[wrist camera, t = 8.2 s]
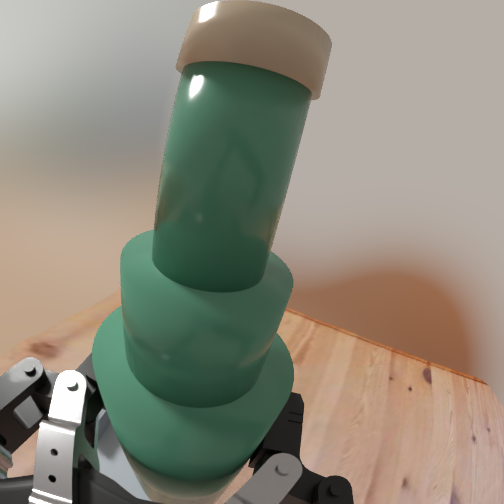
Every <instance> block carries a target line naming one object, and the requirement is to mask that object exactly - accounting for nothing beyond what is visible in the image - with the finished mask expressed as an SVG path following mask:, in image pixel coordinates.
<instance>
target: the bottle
mask: <svg viewBox="0 0 504 504" xmlns="http://www.w3.org/2000/svg"><path fill="white" fill-rule="evenodd" d="M331 47H332V42H331V39H330V37H329V36H328V34H327V33H326V32H325V31H324V30H323V29H322V28H321V27H320V26H319V25H317V24H316V23H315V22H313V21H312V20H310V19H308V18H306V17H305V16H303V15H301V14H298V13H296V12H294V11H292V10H289V9H286V8H283V7H280V6H276V5H273V4H268V3H263V2H257V1H247V0H229V1H220V2H214V3H211V4H207V5H205V6H202V7H200V8H199V9H198V10H196V11H195V12H194V13H193V15H192V17H191V20H190V23H189V25H188V28H187V31H186V34H185V37H184V41H183V44H182V47H181V50H180V53H179V57H178V60H177V64H176V69H177V70H178V71H179V72H180V73H182V75H181V78H180V82H179V86H178V90H177V94H176V98H175V103H174V106H173V111H172V115H171V120H170V125H169V130H168V135H167V140H166V146H165V151H164V157H163V163H162V169H161V175H160V183H159V189H158V197H157V206H156V213H155V223H154V230H150V231H147V232H144V233H141V234H139V235H137V236H136V237H134V238H133V239H131V240H130V241H129V242H128V243H127V244H126V245H125V247H124V248H123V250H122V253H121V263H120V265H121V266H120V268H121V269H120V272H121V304H122V306H120V307H119V308H117V309H116V310H115V311H113V312H112V313H111V314H110V315H109V316H108V317H107V318H106V319H105V320H104V322H103V323H102V324H101V326H100V328H99V329H98V331H97V334H96V336H95V338H94V343H93V347H92V363H93V370H94V373H95V377H96V380H97V383H98V387H99V390H100V393H101V396H102V399H103V402H104V405H105V408H106V411H107V413H108V416H109V419H110V421H111V424H112V426H113V429H114V431H115V434H116V436H117V439H118V441H119V443H120V445H121V448H122V450H123V452H124V454H125V456H126V458H127V461H128V463H129V465H130V467H131V469H132V471H133V473H134V474H135V476H136V478H137V480H138V482H139V484H140V486H141V487H142V489H143V491H144V492H145V494H146V495H147V497H148V498H149V499H150V500H151V501H153V502H158V503H163V504H214V503H215V502H216V501H217V500H218V499H219V497H220V496H221V495H222V494H223V493H224V491H225V490H226V489H227V488H228V486H229V485H230V484H231V482H232V481H233V480H234V479H235V477H236V476H237V475H238V473H239V472H240V471H241V469H242V468H243V467H244V465H245V464H246V463H247V461H248V460H249V458H250V457H251V456H252V454H253V453H254V451H255V450H256V448H257V447H258V446H259V444H260V443H261V441H262V440H263V438H264V437H265V435H266V434H267V432H268V431H269V429H270V428H271V426H272V425H273V423H274V421H275V420H276V418H277V417H278V415H279V414H280V412H281V410H282V409H283V407H284V405H285V404H286V402H287V400H288V398H289V396H290V393H291V391H292V387H293V382H294V368H293V362H292V359H291V356H290V353H289V351H288V349H287V347H286V345H285V343H284V342H283V340H282V339H281V337H280V336H279V335H278V334H277V333H276V332H277V330H278V327H279V325H280V322H281V319H282V317H283V314H284V311H285V308H286V306H287V303H288V300H289V297H290V295H291V292H292V288H293V277H292V274H291V272H290V270H289V268H288V267H287V265H286V264H285V263H284V262H283V261H282V260H281V259H280V258H279V257H278V256H277V255H275V254H274V253H273V252H271V247H272V244H273V240H274V236H275V233H276V229H277V225H278V222H279V219H280V215H281V211H282V208H283V204H284V200H285V197H286V193H287V189H288V185H289V182H290V178H291V174H292V170H293V167H294V163H295V159H296V156H297V152H298V148H299V144H300V140H301V136H302V133H303V129H304V125H305V121H306V117H307V113H308V109H309V105H310V101H311V100H316V99H318V98H319V97H320V93H321V89H322V85H323V81H324V77H325V73H326V69H327V64H328V60H329V56H330V52H331Z"/></svg>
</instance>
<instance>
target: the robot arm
mask: <svg viewBox="0 0 504 504" xmlns="http://www.w3.org/2000/svg"><path fill="white" fill-rule="evenodd" d="M102 409H104V410H106V408H105V405H104V402H103V399H102V396H101V393H100V390H99V387H98V383H97V380H96V377H95V373H94V370H93V363H92V353H91V354H90V355H89V356H88V357H87V358H86V360H85V361H84V362H83V363H82V364H81V365H80V366H79V367H78V368H77V369H76V370H75V371H65V372H63V373H61V374H59V373H56V372H53V371H49V370H46V369H44V368H43V365H42V363H41V362H40V361H39V360H38V359H36V358H33V357H28V358H25V359H23V360H21V361H20V362H19V363H17V364H16V365H15V366H13V367H12V368H11V369H10V370H8V371H7V372H6V373H4V374H3V375H2V376H0V504H163V503H158V502H153V501H148V500H143V499H139V498H136V497H135V496H133V495H132V494H131V493H129V492H128V491H127V490H125V489H124V488H123V487H122V486H120V485H119V484H118V483H117V482H116V481H114V480H113V479H111V478H109V477H107V476H106V475H104V474H102V473H100V464H99V458H98V454H97V439H98V423H99V413H100V411H101V410H102ZM303 413H304V402H303V400H302V397H301V395H300V394H297V393H293V392H291V393H290V396H289V398H288V400H287V402H286V404H285V405H284V407H283V409H282V410H281V412H280V414H279V415H278V417H277V418H276V420H275V421H274V423H273V425H272V426H271V428H270V429H269V431H268V432H267V434H266V435H265V437H264V438H263V440H262V441H261V443H260V444H259V446H258V447H257V448H256V450H255V451H254V453H253V454H252V456H251V457H250V461H249V465H248V467H251V468H254V472H253V476H252V477H251V478H250V479H249V480H248V481H247V482H246V483H245V484H244V485H243V486H242V487H241V488H240V489H239V490H238V491H237V492H236V493H235V494H234V495H233V496H232V497H231V498H230V499H229V500H228V501H226V502H225V503H224V504H354V502H353V494H352V487H351V484H350V483H349V481H348V480H347V479H345V478H343V477H341V476H329V477H327V478H326V477H323V476H321V475H318V474H316V473H314V472H311V471H310V470H308V469H307V468H306V467H305V466H304V465H303V464H302V462H301V460H300V444H301V435H302V423H303ZM39 428H40V429H39ZM38 429H39V435H38V441H37V448H36V456H35V466H34V475H28V476H21V477H14V478H7V471H8V468H12V466H13V462H12V456H11V454H12V453H13V452H14V451H15V450H16V449H18V448H19V447H20V446H21V445H22V444H23V443H24V442H25V441H26V440H27V439H28V438H29V437H30V436H31V435H32V434H33V433H35V432H36V431H37V430H38Z"/></svg>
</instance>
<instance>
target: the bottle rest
mask: <svg viewBox="0 0 504 504" xmlns="http://www.w3.org/2000/svg"><path fill="white" fill-rule="evenodd" d="M97 454H98V458H99V464H100V473H102V474H104V475H106V476H107V477H109V478H111V479H113V480H114V481H116V482H117V483H118V484H119V485H120V486H122V487H123V488H124V489H125V490H127V491H128V492H129V493H131V494H132V495H133V496H135V497H136V498H139V499H143V500H148V501H151V500H150V499H149V498H148V497H147V495H146V494H145V492H144V491H143V489H142V487H141V486H140V484H139V482H138V480H137V478H136V476H135V474H134V473H133V471H132V469H131V467H130V465H129V463H128V461H127V458H126V456H125V454H124V452H123V450H122V448H121V445H120V443H119V441H118V439H117V436H116V434H115V431H114V429H113V426H112V424H111V421H110V419H109V416H108V413H107V411H106V410H104V409H102V410H101V411H100V413H99V423H98V439H97Z"/></svg>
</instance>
